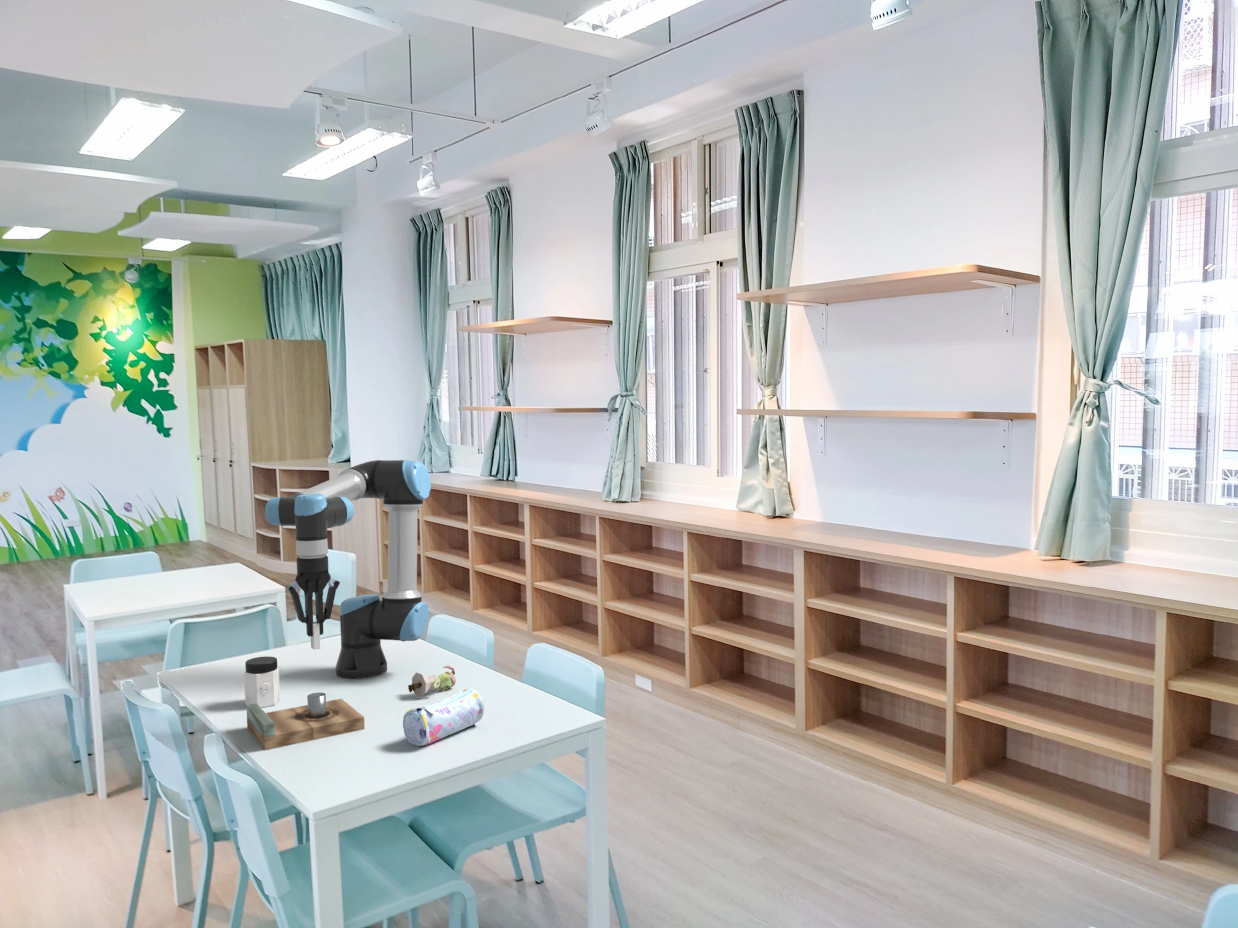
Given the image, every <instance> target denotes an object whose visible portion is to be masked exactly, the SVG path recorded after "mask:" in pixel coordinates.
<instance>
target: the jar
mask: <svg viewBox="0 0 1238 928" xmlns="http://www.w3.org/2000/svg"><path fill="white" fill-rule="evenodd" d="M244 664H245V671H244V675H243V676H244V700H245V701H244V704H245V707H247V705H249V704H255V703H257V704H258V705H259V707H260V708H261V709H263V708H269V707H273V706H276V704H278V703H279V701H281V697H280V696H281V694H280V693H281V691H280V671H279V670H280V668H279V667H278V658H277V657H275V656H269V655H268V656H258V657H252V658H249V659H247V660H246V661H245V663H244Z"/></svg>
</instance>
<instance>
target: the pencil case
mask: <svg viewBox="0 0 1238 928" xmlns="http://www.w3.org/2000/svg"><path fill="white" fill-rule="evenodd" d="M483 700H484V699H483V698H482V696H481V695H480V692H478V691H477V690H476V689H474V688H465V689H464V690H463V691H461V692H457V693H455V694H451V695H450V696H448V697H445V698H444V699H441V700H439V701H436V702H433V703H431V704H428V705H425V706H422V707H421V706H419V707H415V708H411V709H409V710H408V711H406V712H405V713H404V715H403V717H402V718H403V719H402V727H403V733H404V736H405V739H406V740H407V742H408V743H410V744H412V745H414V746H416V747H422V746H427V745H430V744H433V743H435V742H437V741H439V740H441V739H445V738H446V737H448V735H449V736H450V735H453V734H454V733H457V732H460V731H462V730H464V729H467V728H468V727H470V726H473V725H475V724H476V723H478V722H479V721H481V720H482V719H483V716H484V713H485V703H484V701H483Z"/></svg>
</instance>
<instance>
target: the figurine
mask: <svg viewBox="0 0 1238 928" xmlns="http://www.w3.org/2000/svg"><path fill="white" fill-rule="evenodd" d="M442 668H443V669H444V668H445V669H449V670H451V671H444V672H442V673H440V674H439V675H435V674H432V675H428V676H426V675H425V674H421V673H419V672H418V671H417V672H415V673H414V675H413V676H412V677H411V684H408V685H407V686H408V687H407V688H408V691H409V693H412V692H413V694H414V695H415V696H416V697H418V698H421V699H422V698H423V697H424V696H425V694H426V693H427V692H429V691H436V690H437V689H438V690H442V691H441V692H445V691H446V690H448V689H451V688H452V687H453V686H455V685H456V680H457V679H456V676H455V674H456V670H455V667H454V666H451V665H443V666H442ZM444 690H445V691H444Z"/></svg>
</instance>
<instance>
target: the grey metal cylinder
mask: <svg viewBox="0 0 1238 928" xmlns="http://www.w3.org/2000/svg"><path fill="white" fill-rule="evenodd" d="M326 696H327V695H326V693H325V692H313V693H309V694H308V695H307V696H306V697H307V705H308V718H309V719H318V718H323V717H326V701H327V698H326Z"/></svg>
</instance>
